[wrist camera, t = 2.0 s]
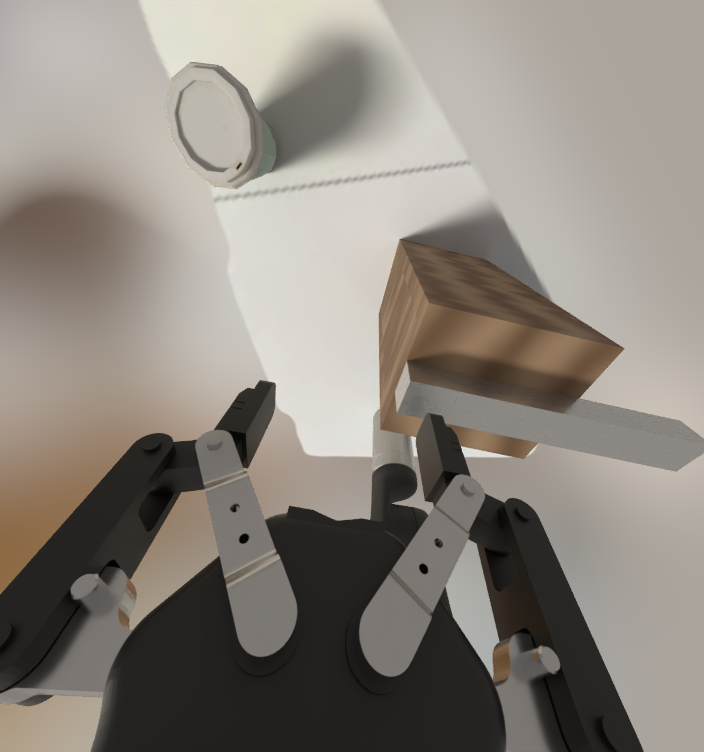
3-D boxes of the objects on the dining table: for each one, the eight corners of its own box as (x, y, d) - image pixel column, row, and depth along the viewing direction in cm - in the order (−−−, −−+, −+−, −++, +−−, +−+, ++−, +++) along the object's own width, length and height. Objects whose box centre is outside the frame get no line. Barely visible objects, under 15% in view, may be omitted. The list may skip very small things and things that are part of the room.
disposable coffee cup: (208, 141, 41) (136, 120, 29) (252, 74, 36) (189, 15, 24) (262, 205, 45) (219, 210, 33) (307, 151, 41) (277, 135, 28)
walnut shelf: (487, 260, 47) (624, 348, 21) (454, 331, 55) (523, 458, 29) (399, 239, 46) (428, 303, 20) (378, 314, 54) (380, 429, 28)
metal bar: (680, 420, 25) (713, 446, 22) (648, 445, 27) (676, 471, 24) (406, 360, 23) (410, 380, 21) (395, 391, 25) (396, 413, 23)
